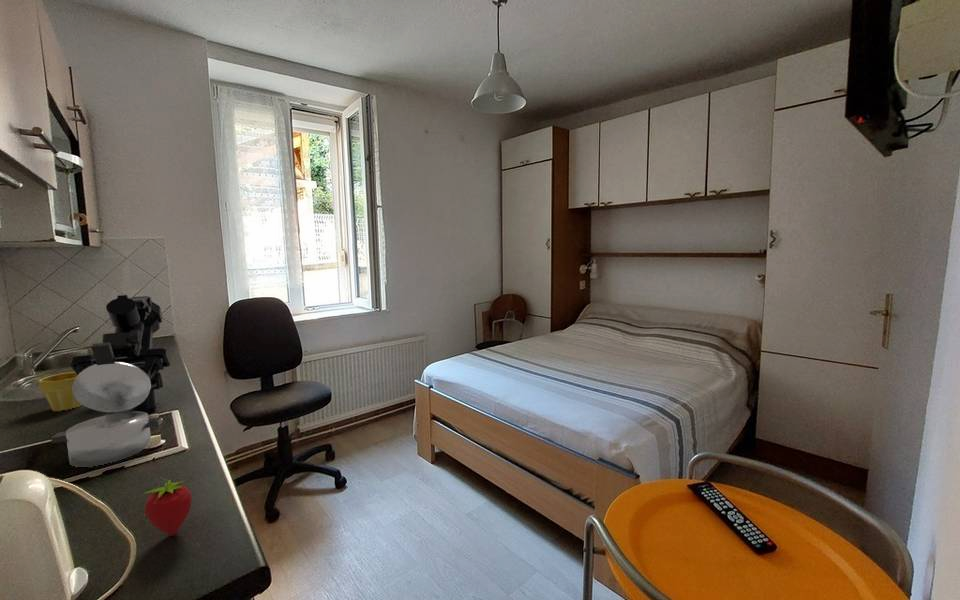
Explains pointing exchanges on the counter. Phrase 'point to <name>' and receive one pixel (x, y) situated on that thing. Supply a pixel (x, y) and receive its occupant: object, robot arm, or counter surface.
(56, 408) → the plant pot
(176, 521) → the strawberry
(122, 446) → the cooker pot
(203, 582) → the counter surface
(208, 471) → the counter surface
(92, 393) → the cooker lid
